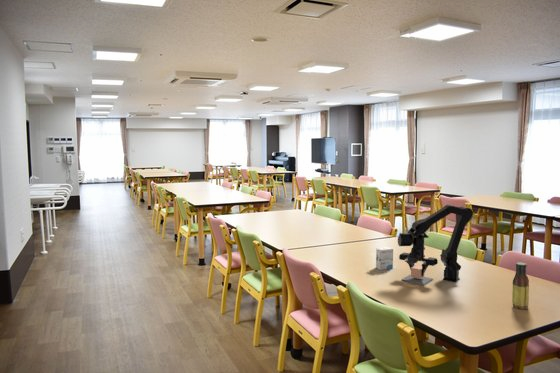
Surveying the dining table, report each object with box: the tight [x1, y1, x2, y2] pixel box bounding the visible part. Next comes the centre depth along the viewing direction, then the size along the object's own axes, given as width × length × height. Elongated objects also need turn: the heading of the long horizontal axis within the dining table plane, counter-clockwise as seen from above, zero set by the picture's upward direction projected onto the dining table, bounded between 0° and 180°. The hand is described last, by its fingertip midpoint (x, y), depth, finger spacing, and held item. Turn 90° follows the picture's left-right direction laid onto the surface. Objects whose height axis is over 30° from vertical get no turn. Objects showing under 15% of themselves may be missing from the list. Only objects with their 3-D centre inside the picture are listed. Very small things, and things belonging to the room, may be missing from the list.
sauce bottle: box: [511, 261, 530, 310], centre depth 179 cm, size 7×6×20 cm
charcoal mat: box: [401, 273, 434, 286], centre depth 217 cm, size 12×12×1 cm
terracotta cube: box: [410, 265, 425, 279], centre depth 217 cm, size 5×5×5 cm
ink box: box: [375, 246, 394, 271], centre depth 237 cm, size 9×5×12 cm, turn 105°
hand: (417, 274), depth 217 cm, fingers closed on terracotta cube, 5 cm apart
